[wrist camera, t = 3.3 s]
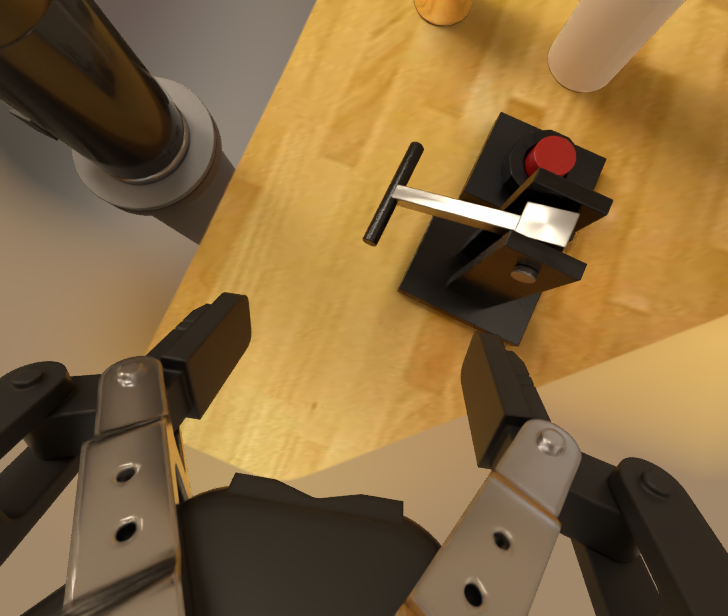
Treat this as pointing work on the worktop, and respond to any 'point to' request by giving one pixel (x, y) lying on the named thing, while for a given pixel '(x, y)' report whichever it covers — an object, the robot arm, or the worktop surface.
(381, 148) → the worktop surface
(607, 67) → the cylindrical container
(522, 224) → the lever
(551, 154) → the button
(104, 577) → the robot arm
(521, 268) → the lever bracket
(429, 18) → the beer glass
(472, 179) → the block
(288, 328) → the worktop surface
